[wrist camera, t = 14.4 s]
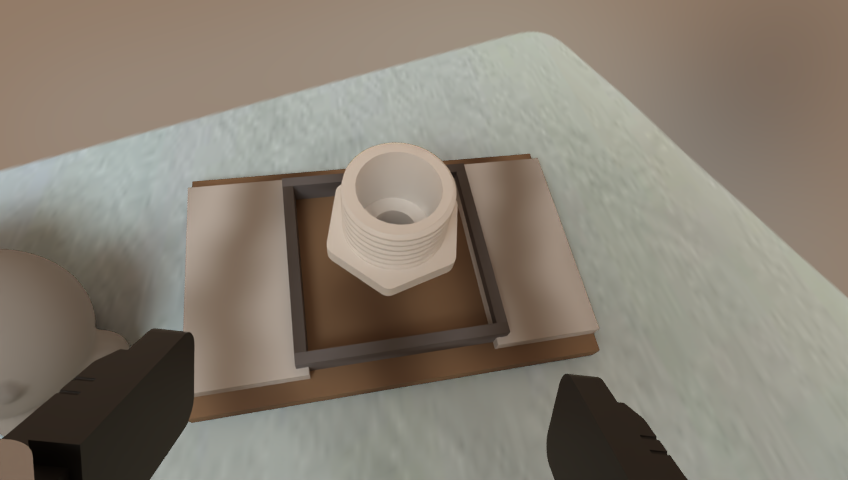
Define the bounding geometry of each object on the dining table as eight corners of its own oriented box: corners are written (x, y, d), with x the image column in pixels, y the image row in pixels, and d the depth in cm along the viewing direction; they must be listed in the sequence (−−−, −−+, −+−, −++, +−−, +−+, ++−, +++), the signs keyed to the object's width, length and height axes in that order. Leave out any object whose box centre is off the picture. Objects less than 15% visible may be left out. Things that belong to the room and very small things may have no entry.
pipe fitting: (311, 241, 29) (297, 157, 22) (419, 202, 31) (437, 114, 24) (353, 336, 27) (352, 275, 20) (467, 287, 29) (502, 216, 22)
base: (525, 162, 35) (536, 139, 33) (592, 354, 29) (611, 342, 27) (197, 190, 31) (185, 166, 29) (191, 422, 25) (175, 414, 23)
